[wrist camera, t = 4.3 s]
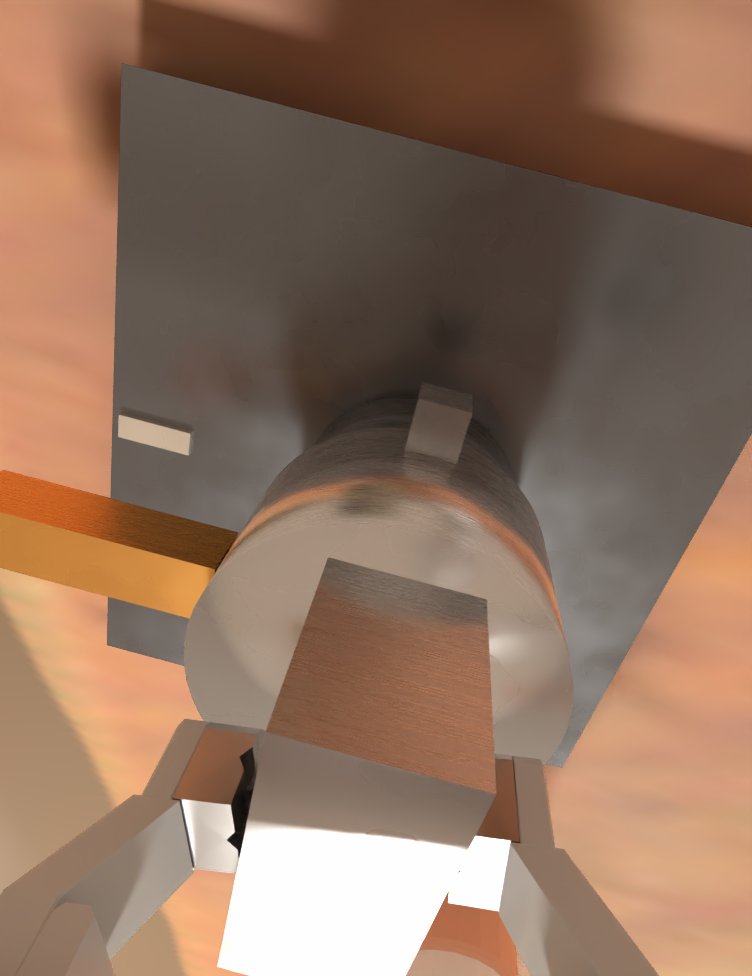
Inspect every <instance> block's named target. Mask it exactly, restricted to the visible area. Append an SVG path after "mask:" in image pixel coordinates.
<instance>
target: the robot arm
mask: <svg viewBox="0 0 752 976" xmlns="http://www.w3.org/2000/svg"><path fill="white" fill-rule="evenodd" d="M264 736H265V731H264V730H262V729H257V728H250V727H243V726H235V725H228V724H221V723H214V722H205V721H197V720H189V719H184V720H183V721H182V722H181V723H180V724H179V725H178V727H177V729H176V730H175V732H174V734H173V736H172V738H171V740H170V742H169V744H168V746H167V748H166V749H165V751H164V753H163V755H162V757H161V759H160V761H159V763H158V765H157V767H156V769H155V770H154V772H153V774H152V776H151V778H150V780H149V782H148V784H147V786H146V788H145V789H144V791H143V793H142V795H132V796H131V797H130V798H128V799H127V800H126V801H124V802H123V803H122V804H120V805H119V806H117V807H116V808H115V809H113V810H112V811H111V812H109V813H108V814H107V815H105V816H104V817H102V818H101V819H100V820H98V821H97V822H96V823H94V824H93V825H92V826H90V827H89V828H87V829H86V830H85V831H83V832H82V833H81V834H80V835H78V836H77V837H75V838H74V839H72V840H71V841H70V842H69V843H67V844H66V845H64V846H63V847H61V848H60V849H59V850H58V851H56V852H55V853H54V854H52V855H51V856H49V857H48V858H46V859H45V860H44V861H42V862H41V863H40V864H38V865H37V866H36V867H34V868H33V869H31V870H30V871H29V872H27V873H26V874H25V875H23V876H22V877H21V878H19V879H18V880H16V881H15V882H14V883H12V884H11V885H10V886H8V887H7V888H5V889H4V890H3V892H2V894H1V895H0V976H115V974H114V971H113V968H112V965H111V962H110V959H111V958H112V957H113V956H114V955H115V954H116V953H117V952H118V950H119V949H120V948H121V947H122V946H123V945H124V944H125V943H126V942H127V941H128V940H129V939H130V938H131V937H132V936H133V935H134V934H135V933H136V932H137V931H138V930H139V929H140V928H141V927H142V925H143V924H144V923H145V922H146V921H147V920H148V919H149V918H150V917H151V916H152V915H153V914H154V913H155V912H156V911H157V910H158V909H159V908H160V907H161V906H162V905H163V904H164V903H165V902H166V901H167V900H168V898H169V897H170V896H171V895H172V894H173V893H174V892H175V891H176V890H177V889H178V888H179V887H180V886H181V885H182V884H183V883H184V882H185V881H186V880H187V879H188V878H189V877H190V876H191V875H192V873H193V872H194V871H193V869H199V870H208V871H218V872H227V873H237V868H238V863H239V858H240V853H241V848H242V844H243V839H244V834H245V829H246V824H247V819H248V814H249V809H250V804H251V800H252V795H253V790H254V785H255V780H256V775H257V770H258V765H259V761H260V756H261V751H262V746H263V741H264ZM494 755H495V775H496V796H495V798H494V800H493V802H492V804H491V806H490V808H489V810H488V812H487V814H486V816H485V818H484V820H483V822H482V824H481V826H480V828H479V830H478V832H477V834H476V836H475V838H474V840H473V842H472V844H471V846H470V848H469V850H468V852H467V854H466V856H465V858H464V860H463V862H462V864H461V866H460V868H459V870H458V872H457V874H456V876H455V878H454V880H453V882H452V884H451V886H450V888H449V890H448V903H452V904H458V905H464V906H470V907H476V908H482V909H488V910H494V911H499V916H500V918H501V920H502V922H503V923H504V925H505V927H506V929H507V931H508V933H509V935H510V937H511V939H512V941H513V943H514V945H515V946H516V948H517V950H518V952H519V954H520V956H521V958H522V960H523V962H524V964H525V966H526V968H527V969H528V971H529V973H530V975H531V976H659V975H658V973H657V972H656V971H655V970H654V968H653V967H652V966H651V964H650V963H649V962H648V960H647V959H646V958H645V956H644V955H643V954H642V952H641V951H640V950H639V948H638V947H637V946H636V944H635V943H634V942H633V940H632V939H631V938H630V936H629V935H628V934H627V932H626V931H625V930H624V928H623V927H622V926H621V924H620V923H619V922H618V920H617V919H616V918H615V916H614V915H613V914H612V912H611V911H610V910H609V908H608V907H607V906H606V904H605V903H604V902H603V900H602V899H601V898H600V896H599V895H598V894H597V892H596V891H595V890H594V888H593V887H592V886H591V885H590V883H589V882H588V881H587V879H586V878H585V877H584V875H583V874H582V873H581V871H580V870H579V869H578V867H577V866H576V865H575V863H574V862H573V861H572V859H571V858H570V857H569V855H568V854H567V853H566V851H565V850H564V849H559V848H555V844H554V837H553V830H552V822H551V815H550V808H549V801H548V793H547V786H546V779H545V771H544V764H543V763H542V761H541V759H536V758H527V757H518V756H512V757H511V755H504V754H494Z"/></svg>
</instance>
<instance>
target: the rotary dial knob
mask: <svg viewBox="0 0 752 976" xmlns="http://www.w3.org/2000/svg"><path fill="white" fill-rule="evenodd" d="M472 414H473V401H472V395H470V394H466V393H462V392H459V391H455V390H451V389H447V388H443V387H440V386H436V385H432V384H428V383H424V382H422V385H421V388H420V392H419V396H418V399H417V403H416V407H415V410H414V414H413V418H412V421H411V425H410V428H409V429H404V428H371V429H365V430H359V431H353V432H348V433H345V434H342V435H339V436H336V437H333V438H330V439H328V440H325V441H323V442H321V443H319V444H317V445H315V446H313V447H311V448H310V449H308V450H306V451H305V452H303V453H302V454H300V455H299V456H297V457H296V458H295V459H294V460H293V461H291V462H290V463H289V464H288V465H287V466H286V467H285V468H283V470H282V471H281V472H280V473H279V474H278V476H277V477H276V478H275V479H274V480H273V482H272V483H271V485H270V486H269V488H268V489H267V491H266V493H265V494H264V496H263V497H262V499H261V500H260V502H259V504H258V505H257V507H256V508H255V510H254V512H253V513H252V515H251V516H250V518H249V520H248V521H247V523H246V524H245V526H244V528H243V529H242V531H241V532H240V534H239V536H238V532H235V531H231V530H228V529H224V528H220V527H216V526H213V525H209V524H205V523H201V522H198V521H194V520H190V519H186V518H183V517H179V516H175V515H171V514H168V513H164V512H160V511H156V510H153V509H149V508H145V507H141V506H137V505H134V504H130V503H126V502H122V501H119V500H115V499H111V498H107V497H104V496H100V495H96V494H92V493H89V492H85V491H81V490H77V489H74V488H70V487H66V486H62V485H59V484H55V483H51V482H47V481H44V480H40V479H36V478H32V477H28V476H25V475H21V474H17V473H13V472H10V471H6V470H2V471H1V472H0V568H3V569H7V570H10V571H14V572H18V573H21V574H25V575H29V576H33V577H36V578H40V579H44V580H48V581H51V582H55V583H59V584H63V585H66V586H70V587H74V588H77V589H81V590H85V591H89V592H92V593H96V594H100V595H104V596H107V597H111V598H115V599H119V600H122V601H126V602H130V603H133V604H137V605H141V606H145V607H148V608H152V609H156V610H160V611H163V612H167V613H171V614H175V615H178V616H182V617H186V618H190V619H189V622H188V625H187V630H186V635H185V641H184V666H185V673H186V680H187V683H188V686H189V689H190V693H191V696H192V699H193V701H194V703H195V705H196V707H197V709H198V711H199V713H200V715H201V717H202V719H203V720H204V721H205V722H214V723H221V724H228V725H235V726H243V727H250V728H257V729H262V730H264V731H265V736H264V741H263V746H262V751H261V756H260V761H259V765H258V770H257V775H256V780H255V785H254V790H253V795H252V800H251V804H250V809H249V814H248V819H247V824H246V829H245V834H244V839H243V844H242V848H241V853H240V858H239V863H238V868H237V873H236V878H235V883H234V887H233V892H232V897H231V902H230V907H229V912H228V917H227V922H226V927H225V931H224V936H223V941H222V946H221V951H220V956H219V961H218V966H217V967H220V968H224V969H228V970H231V971H235V972H239V973H242V974H246V975H250V976H405V975H406V973H407V971H408V969H409V967H410V965H411V963H412V961H413V959H414V957H415V955H416V953H417V951H418V949H419V947H420V945H421V943H422V941H423V939H424V938H425V936H426V934H427V932H428V930H429V928H430V926H431V924H432V922H433V920H434V918H435V916H436V914H437V912H438V910H439V908H440V906H441V904H442V902H443V900H444V898H445V896H446V894H447V892H448V890H449V888H450V886H451V884H452V882H453V880H454V878H455V876H456V874H457V872H458V870H459V868H460V866H461V864H462V862H463V860H464V858H465V856H466V854H467V852H468V850H469V848H470V846H471V844H472V842H473V840H474V838H475V836H476V834H477V832H478V830H479V828H480V826H481V824H482V822H483V820H484V818H485V816H486V814H487V812H488V810H489V808H490V806H491V804H492V802H493V800H494V798H495V796H496V775H495V755H494V754H504V755H511V757H512V756H518V757H527V758H536V759H541V761H542V763H543V764H544V765H545V764H546V763H547V762H548V761H549V760H550V759H551V757H552V756H553V754H554V753H555V751H556V750H557V748H558V746H559V745H560V743H561V741H562V739H563V736H564V734H565V732H566V730H567V727H568V724H569V720H570V716H571V712H572V708H573V690H574V686H573V678H572V670H571V664H570V660H569V655H568V650H567V645H566V641H565V636H564V631H563V627H562V622H561V617H560V613H559V608H558V603H557V598H556V594H555V589H554V584H553V580H552V575H551V570H550V565H549V561H548V556H547V551H546V547H545V542H544V537H543V534H542V531H541V527H540V524H539V521H538V519H537V517H536V514H535V512H534V510H533V508H532V506H531V504H530V503H529V501H528V500H527V498H526V497H525V495H524V494H523V492H522V491H521V489H520V488H519V487H518V486H517V485H516V483H515V482H514V481H513V480H512V479H511V478H510V477H509V476H508V475H507V473H505V472H504V471H503V470H502V469H501V468H499V467H498V466H497V465H496V464H495V463H493V462H492V461H491V460H490V459H488V458H486V457H485V456H483V455H482V454H480V453H479V452H477V451H475V450H474V449H472V448H470V447H468V446H466V445H464V444H463V442H464V439H465V436H466V433H467V429H468V426H469V423H470V420H471V417H472Z"/></svg>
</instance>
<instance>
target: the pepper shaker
mask: <svg viewBox="0 0 752 976" xmlns="http://www.w3.org/2000/svg"><path fill="white" fill-rule="evenodd" d="M405 976H518V972H517V956H516V946H515V945H514V943H513V941H512V939H511V937H510V935H509V933H508V931H507V929H506V927H505V925H504V923H503V922H502V920H501V918H500V916H499V911H494V910H488V909H482V908H476V907H470V906H464V905H458V904H452V903H448V892H447V894H446V896H445V898H444V900H443V902H442V904H441V906H440V908H439V910H438V912H437V914H436V916H435V918H434V920H433V922H432V924H431V926H430V928H429V930H428V932H427V934H426V936H425V938H424V939H423V941H422V943H421V945H420V947H419V949H418V951H417V953H416V955H415V957H414V959H413V961H412V963H411V965H410V967H409V969H408V971H407V973H406V975H405Z"/></svg>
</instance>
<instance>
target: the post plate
mask: <svg viewBox="0 0 752 976" xmlns="http://www.w3.org/2000/svg"><path fill="white" fill-rule="evenodd" d="M422 382H424V383H428V384H432V385H436V386H440V387H443V388H447V389H451V390H455V391H459V392H462V393H466V394H470V395H472V401H473V414H472V417H471V420H470V423H469V426H468V429H467V433H466V436H465V439H464V442H463V444H464V445H466V446H468V447H470V448H472V449H474V450H475V451H477V452H479V453H480V454H482V455H483V456H485V457H486V458H488V459H490V460H491V461H492V462H493V463H495V464H496V465H497V466H498V467H499V468H501V469H502V470H503V471H504V472H505V473H507V475H508V476H509V477H510V478H511V479H512V480H513V481H514V482H515V483H516V485H517V486H518V487H519V488H520V489H521V491H522V492H523V494H524V495H525V497H526V498H527V500H528V501H529V503H530V504H531V506H532V508H533V510H534V512H535V514H536V517H537V519H538V521H539V524H540V527H541V531H542V534H543V537H544V542H545V547H546V551H547V556H548V561H549V565H550V570H551V575H552V580H553V584H554V589H555V594H556V598H557V603H558V608H559V613H560V617H561V622H562V627H563V631H564V636H565V641H566V645H567V650H568V655H569V660H570V664H571V670H572V678H573V686H574V690H573V708H572V712H571V716H570V720H569V724H568V727H567V730H566V732H565V734H564V736H563V739H562V741H561V743H560V745H559V746H558V748H557V750H556V751H555V753H554V754H553V756H552V757H551V759H550V760H549V761H548V762H547V763H546V764H549V765H553V766H557V767H561V768H562V767H563V765H564V763H565V762H566V760H567V758H568V756H569V755H570V753H571V751H572V749H573V748H574V746H575V744H576V742H577V740H578V739H579V737H580V735H581V733H582V732H583V730H584V728H585V726H586V725H587V723H588V721H589V719H590V718H591V716H592V714H593V712H594V711H595V709H596V707H597V705H598V703H599V702H600V700H601V698H602V696H603V695H604V693H605V691H606V689H607V688H608V686H609V684H610V682H611V681H612V679H613V677H614V675H615V673H616V672H617V670H618V668H619V666H620V665H621V663H622V661H623V659H624V658H625V656H626V654H627V652H628V651H629V649H630V647H631V645H632V644H633V642H634V640H635V638H636V636H637V635H638V633H639V631H640V629H641V628H642V626H643V624H644V622H645V621H646V619H647V617H648V615H649V614H650V612H651V610H652V608H653V607H654V605H655V603H656V601H657V599H658V598H659V596H660V594H661V592H662V591H663V589H664V587H665V585H666V584H667V582H668V580H669V578H670V577H671V575H672V573H673V571H674V570H675V568H676V566H677V564H678V562H679V561H680V559H681V557H682V555H683V554H684V552H685V550H686V548H687V547H688V545H689V543H690V541H691V540H692V538H693V536H694V534H695V533H696V531H697V529H698V527H699V525H700V524H701V522H702V520H703V518H704V517H705V515H706V513H707V511H708V510H709V508H710V506H711V504H712V503H713V501H714V499H715V497H716V495H717V494H718V492H719V490H720V488H721V487H722V485H723V483H724V481H725V480H726V478H727V476H728V474H729V473H730V471H731V469H732V467H733V466H734V464H735V462H736V460H737V458H738V457H739V455H740V453H741V451H742V450H743V448H744V446H745V444H746V443H747V441H748V439H749V437H750V436H751V434H752V227H749V226H745V225H741V224H737V223H733V222H729V221H726V220H722V219H718V218H714V217H710V216H706V215H702V214H699V213H695V212H691V211H687V210H683V209H679V208H676V207H672V206H668V205H664V204H660V203H656V202H653V201H649V200H645V199H641V198H637V197H633V196H630V195H626V194H622V193H618V192H614V191H610V190H607V189H603V188H599V187H595V186H591V185H587V184H584V183H580V182H576V181H572V180H568V179H564V178H561V177H557V176H553V175H549V174H545V173H541V172H538V171H534V170H530V169H526V168H522V167H518V166H514V165H511V164H507V163H503V162H499V161H495V160H491V159H488V158H484V157H480V156H476V155H472V154H468V153H465V152H461V151H457V150H453V149H449V148H445V147H442V146H438V145H434V144H430V143H426V142H422V141H419V140H415V139H411V138H407V137H403V136H399V135H396V134H392V133H388V132H384V131H380V130H376V129H373V128H369V127H365V126H361V125H357V124H353V123H350V122H346V121H342V120H338V119H334V118H330V117H326V116H323V115H319V114H315V113H311V112H307V111H303V110H300V109H296V108H292V107H288V106H284V105H280V104H277V103H273V102H269V101H265V100H261V99H257V98H254V97H250V96H246V95H242V94H238V93H234V92H231V91H227V90H223V89H219V88H215V87H211V86H208V85H204V84H200V83H196V82H192V81H188V80H185V79H181V78H177V77H173V76H169V75H165V74H162V73H158V72H154V71H150V70H146V69H142V68H139V67H135V66H131V65H127V64H123V63H122V69H121V108H120V148H119V187H118V227H117V266H116V306H115V345H114V385H113V424H112V464H111V499H115V500H119V501H122V502H126V503H130V504H134V505H137V506H141V507H145V508H149V509H153V510H156V511H160V512H164V513H168V514H171V515H175V516H179V517H183V518H186V519H190V520H194V521H198V522H201V523H205V524H209V525H213V526H216V527H220V528H224V529H228V530H231V531H235V532H238V536H239V534H240V532H241V531H242V529H243V528H244V526H245V524H246V523H247V521H248V520H249V518H250V516H251V515H252V513H253V512H254V510H255V508H256V507H257V505H258V504H259V502H260V500H261V499H262V497H263V496H264V494H265V493H266V491H267V489H268V488H269V486H270V485H271V483H272V482H273V480H274V479H275V478H276V477H277V476H278V474H279V473H280V472H281V471H282V470H283V468H285V467H286V466H287V465H288V464H289V463H290V462H291V461H293V460H294V459H295V458H296V457H297V456H299V455H300V454H302V453H303V452H305V451H306V450H308V449H310V448H311V447H313V446H315V445H317V444H319V443H321V442H323V441H325V440H328V439H330V438H333V437H336V436H339V435H342V434H345V433H348V432H353V431H359V430H365V429H371V428H404V429H409V428H410V425H411V421H412V418H413V414H414V410H415V407H416V403H417V399H418V396H419V392H420V388H421V385H422ZM189 619H190V618H186V617H182V616H178V615H175V614H171V613H167V612H163V611H160V610H156V609H152V608H148V607H145V606H141V605H137V604H133V603H130V602H126V601H122V600H119V599H115V598H111V597H108V622H107V645H109V646H112V647H116V648H120V649H123V650H127V651H131V652H135V653H138V654H142V655H146V656H149V657H153V658H157V659H161V660H164V661H168V662H172V663H175V664H179V665H183V666H184V641H185V635H186V630H187V625H188V622H189Z"/></svg>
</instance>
